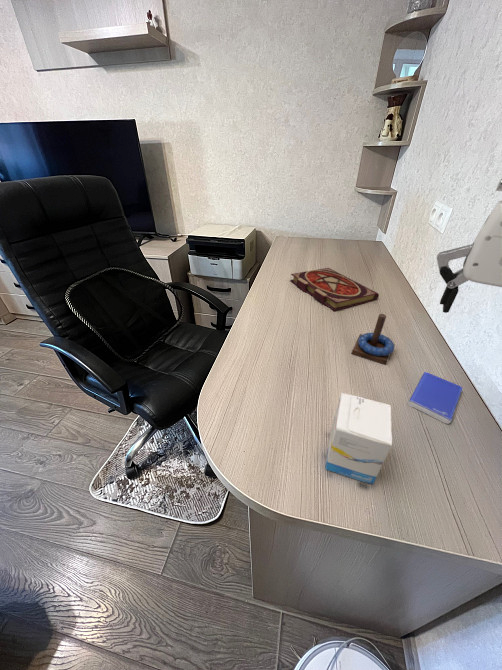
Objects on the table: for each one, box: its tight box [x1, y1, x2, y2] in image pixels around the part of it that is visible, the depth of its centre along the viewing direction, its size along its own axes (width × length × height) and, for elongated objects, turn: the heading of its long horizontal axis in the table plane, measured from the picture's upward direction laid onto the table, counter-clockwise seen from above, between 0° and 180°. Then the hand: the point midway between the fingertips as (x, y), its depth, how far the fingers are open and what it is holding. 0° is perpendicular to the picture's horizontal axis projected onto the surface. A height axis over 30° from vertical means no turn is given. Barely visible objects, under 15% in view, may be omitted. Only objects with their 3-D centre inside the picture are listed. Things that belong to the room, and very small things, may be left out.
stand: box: [351, 313, 390, 366], centre depth 75 cm, size 9×9×12 cm
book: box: [289, 267, 380, 312], centre depth 109 cm, size 28×21×5 cm
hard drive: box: [407, 371, 463, 425], centre depth 63 cm, size 2×8×12 cm
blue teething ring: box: [357, 332, 395, 356], centre depth 76 cm, size 9×9×2 cm
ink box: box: [324, 392, 393, 485], centre depth 48 cm, size 9×8×12 cm
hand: (481, 317), depth 42 cm, fingers open, 9 cm apart
